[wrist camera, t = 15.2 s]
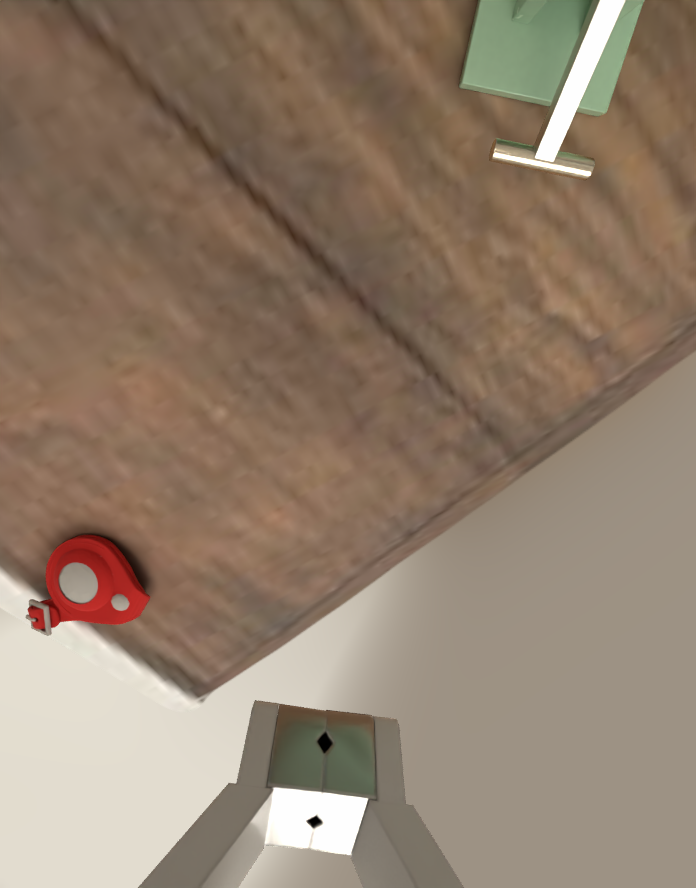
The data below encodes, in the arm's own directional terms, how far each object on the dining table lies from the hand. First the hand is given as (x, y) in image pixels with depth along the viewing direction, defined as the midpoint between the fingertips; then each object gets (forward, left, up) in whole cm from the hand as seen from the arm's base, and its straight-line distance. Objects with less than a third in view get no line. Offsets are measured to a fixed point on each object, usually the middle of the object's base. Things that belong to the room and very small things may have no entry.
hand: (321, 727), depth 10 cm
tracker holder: (-11, -32, -31) cm, 46 cm away
